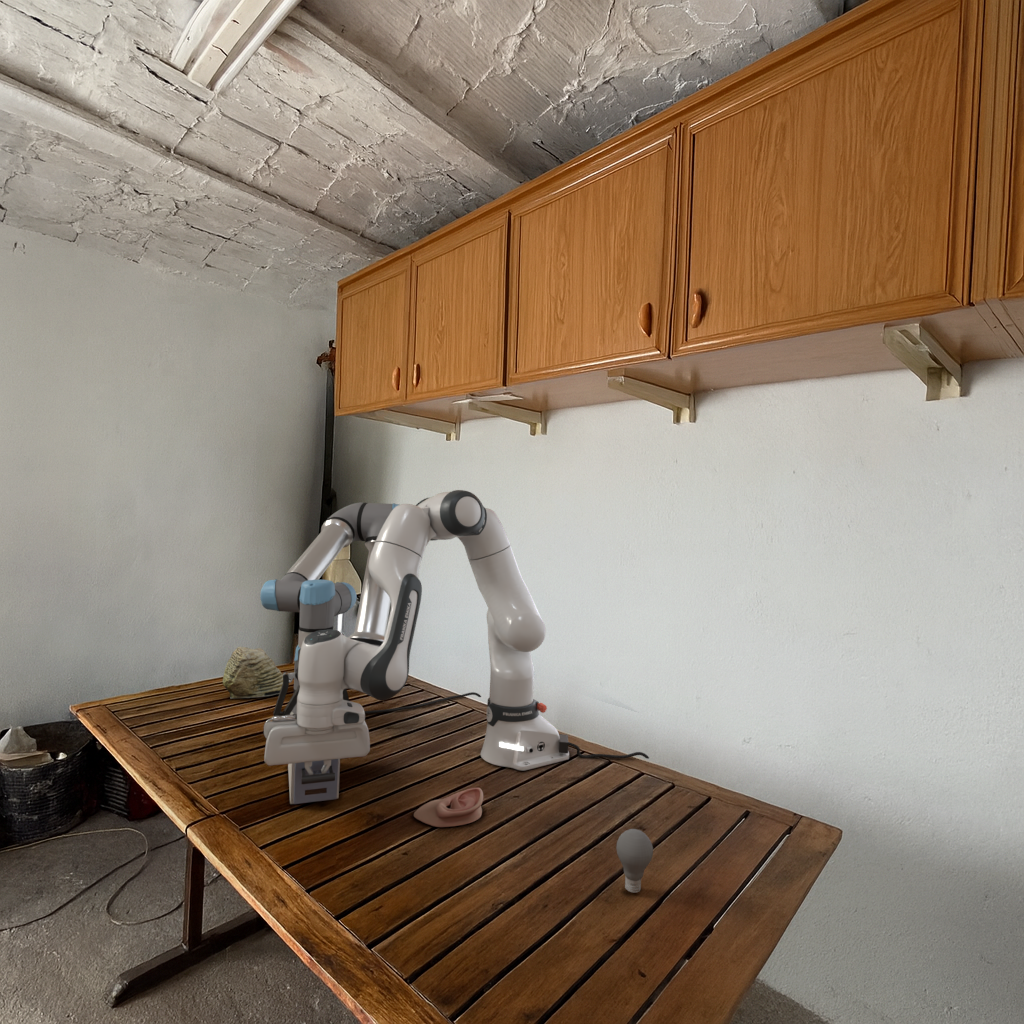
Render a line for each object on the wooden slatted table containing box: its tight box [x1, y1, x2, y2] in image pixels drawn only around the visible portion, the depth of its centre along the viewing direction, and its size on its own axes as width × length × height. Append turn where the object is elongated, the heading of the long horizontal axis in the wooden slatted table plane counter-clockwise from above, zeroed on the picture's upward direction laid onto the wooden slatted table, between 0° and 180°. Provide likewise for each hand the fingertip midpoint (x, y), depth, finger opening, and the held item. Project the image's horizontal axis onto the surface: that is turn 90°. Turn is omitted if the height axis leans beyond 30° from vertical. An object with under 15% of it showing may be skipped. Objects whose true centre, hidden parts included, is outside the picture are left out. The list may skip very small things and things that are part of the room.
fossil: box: [222, 646, 283, 699], centre depth 198 cm, size 9×18×15 cm, turn 132°
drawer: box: [293, 759, 338, 805], centre depth 135 cm, size 23×8×10 cm, turn 21°
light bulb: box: [615, 828, 654, 894], centre depth 106 cm, size 6×6×10 cm
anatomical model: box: [413, 787, 484, 828], centre depth 129 cm, size 13×4×12 cm
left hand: (311, 744), depth 145 cm, fingers closed on cabinet, 10 cm apart
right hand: (316, 781), depth 127 cm, fingers closed
